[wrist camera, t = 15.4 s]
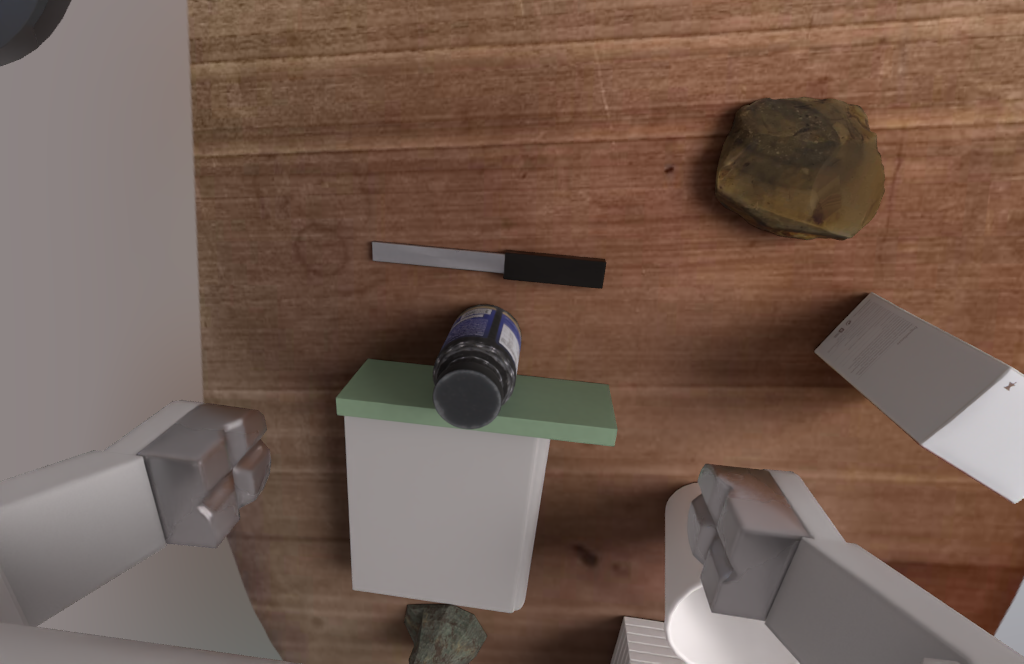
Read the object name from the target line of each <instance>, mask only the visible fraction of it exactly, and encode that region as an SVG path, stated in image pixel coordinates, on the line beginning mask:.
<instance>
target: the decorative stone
mask: <svg viewBox="0 0 1024 664" xmlns="http://www.w3.org/2000/svg"><path fill="white" fill-rule="evenodd" d="M877 149H878V148H877V135H876V133H873V132H871V131H870V128H869V125H868V119H867V116H866V114H865V112H864V111H863V109H862V108H861V107H860V106H858V105H851V104H847V103H845V102H843V101H840V100H836V99H824V100H820V99H813V98H808V97H801V98H790V99H777V100H773V99H770V98H764V99H761V100H758V101H755V102H754V103H752V104H751V105H746V106H744V107H742V108H740V109H739V110H738V111H737V112H736V115H735V118H734V121H733V126H732V129H731V131H730V133H729V134H728V136H727V138H726V140H725V143H724V145H723V148H722V152H721V155H720V159H719V163H718V168H717V174H716V185H715V196H716V198H717V199H718V200H719V201H720V203H721V204H722V205H723V206H724V207H725V208H727V209H729V210H732V211H734V212H736V213H737V214H739V215H740V216H742V217H743V218H744V219H745V220H746V221H747V222H748V223H749V224H751V225H753V226H755V227H757V228H759V229H763V230H766V231H771V232H773V233H775V234H777V235H779V236H783V237H789V238H797V239H804V240H811V239H815V238H825V239H826V238H832V239H836V240H845V239H847V238H852V237H853V236H854V235H855V234H857V232H858V231H859V230H861V229H862V228H863V227H864V226H865V225H866V224H867V223H869V222H870V221H871V220H872V218H873V217H874V216H875V214H876V212H877V210H878V208H879V206H880V202H881V199H882V197H883V194H884V192H885V190H884V181H885V175H884V167H883V164H882V163H881V155H880V153H879V152H878V151H877Z"/></svg>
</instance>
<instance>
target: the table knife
mask: <svg viewBox="0 0 1024 664" xmlns="http://www.w3.org/2000/svg"><path fill="white" fill-rule="evenodd" d="M372 252H373V261H382V262H392V263H402V264H413V265H423V266H433V267H444V268H454V269H464V270H475V271H485V272H495V273H504V276H503V279H509V280H519V281H529V282H540V283H550V284H560V285H570V286H581V287H591V288H601V289H602V287H603V280H604V274H605V267H606V261H605V259H599V258H588V257H577V256H567V255H556V254H546V253H535V252H524V251H514V250H506V252H505V253H497V252H486V251H476V250H465V249H455V248H444V247H433V246H423V245H412V244H402V243H391V242H381V241H373V242H372Z"/></svg>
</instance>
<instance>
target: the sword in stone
mask: <svg viewBox="0 0 1024 664" xmlns="http://www.w3.org/2000/svg"><path fill="white" fill-rule="evenodd" d="M404 623H405V625H406V627H407V629H408V632H409V634H410V636H411V638H412V640H413V642H414V648H413V650H412V653H411V655H410V657H409V664H468V663H469V662H470V661H471V660H472V659H473V658H474V657H475V656H476V655H477V653H478V652H479V650H480V648H481V646H482V645H483V643H484V641H485V639H486V637H487V635H486V633H485V632H484V630H483V629H482V627H481V625H480V624H479V622H478V620H477V619H476V617H475V616H474V615H473V614H471V613H469V612H467V611H465V610H462V609H460V608H458V607H456V606H454V605H452V604H420V605H408V606H407V611H406V616H405V621H404Z"/></svg>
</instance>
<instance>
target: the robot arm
mask: <svg viewBox="0 0 1024 664" xmlns="http://www.w3.org/2000/svg"><path fill="white" fill-rule="evenodd" d="M266 431H267V428H266V423H265V418H264V415H263V414H262V413H261V412H259V411H258V410H253V409H246V408H239V407H231V406H224V405H217V404H210V403H202V402H194V401H185V400H179V401H172V402H171V403H169V404H168V405H167V406H165V407H164V408H162V409H161V410H160V411H158V412H157V413H155V414H154V415H153V416H151V417H150V418H149V419H147V420H146V421H145V422H143V423H142V424H140V425H139V426H137V427H136V428H135V429H133V430H132V431H131V432H129V433H128V434H126V435H125V436H123V437H122V438H121V439H119V440H118V441H116V442H115V443H114V444H112V445H111V446H110V447H108V448H107V449H105V450H104V451H95V450H93V451H90V452H87V453H84V454H81V455H78V456H75V457H72V458H69V459H66V460H63V461H60V462H57V463H54V464H51V465H48V466H45V467H42V468H39V469H36V470H33V471H30V472H27V473H24V474H21V475H18V476H15V477H12V478H9V479H6V480H2V481H0V664H301V663H294V662H287V661H280V660H273V659H265V658H258V657H251V656H244V655H236V654H229V653H222V652H215V651H207V650H200V649H193V648H186V647H179V646H170V645H164V644H156V643H149V642H142V641H135V640H128V639H121V638H114V637H106V636H99V635H91V634H84V633H77V632H70V631H63V630H55V629H48V628H41V627H36V626H38V625H39V624H41V623H43V622H44V621H46V620H47V619H49V618H51V617H52V616H54V615H56V614H57V613H59V612H61V611H62V610H64V609H65V608H67V607H69V606H70V605H72V604H74V603H75V602H77V601H78V600H80V599H82V598H83V597H85V596H87V595H88V594H90V593H91V592H93V591H95V590H96V589H98V588H100V587H101V586H102V585H104V584H106V583H108V582H109V581H111V580H112V579H114V578H116V577H117V576H119V575H121V574H122V573H124V572H125V571H127V570H129V569H130V568H132V567H134V566H135V565H137V564H138V563H140V562H142V561H143V560H145V559H147V558H148V557H150V556H151V555H153V554H155V553H156V552H158V551H160V550H161V549H163V548H164V547H166V546H167V544H178V545H188V546H198V547H208V548H217V547H218V546H219V544H220V543H221V542H222V541H223V539H224V538H225V537H226V536H227V535H228V533H229V532H230V531H231V530H232V528H233V527H234V526H235V525H236V523H237V522H238V521H239V520H240V512H239V508H241V507H243V506H245V505H247V504H249V503H251V502H252V501H254V500H255V499H256V498H257V497H258V495H259V494H260V493H261V491H262V490H263V489H264V487H265V484H266V482H267V479H268V476H269V474H270V466H271V456H270V450H269V448H268V447H267V446H266V445H265V444H264V443H263V441H262V440H261V437H262V436H263V435H264V433H265V432H266ZM697 482H698V484H699V487H700V489H701V492H702V493H701V494H700V495H699V496H697V497H696V498H695V499H694V500H692V501H691V505H690V509H689V513H688V524H687V533H688V540H689V545H690V548H691V551H692V554H693V556H694V557H695V558H696V559H697V560H698V561H699V562H700V563H701V564H702V565H704V566H703V569H702V572H701V575H700V579H701V582H702V585H703V588H704V591H705V594H706V597H707V600H708V603H709V606H710V609H711V612H712V613H717V614H723V615H729V616H736V617H742V618H748V619H755V620H761V621H765V623H764V624H765V625H766V626H767V627H768V628H769V629H770V631H771V632H772V633H773V634H774V635H775V636H776V637H777V638H778V640H779V641H780V642H781V643H782V644H783V645H784V646H785V647H786V648H787V650H788V651H789V652H790V653H791V654H792V655H793V656H794V657H795V659H796V660H797V661H798V662H799V663H800V664H1024V657H1023V656H1022V655H1020V654H1019V653H1017V652H1016V651H1014V650H1013V649H1011V648H1010V647H1008V646H1007V645H1006V644H1004V643H1002V642H1001V641H1000V640H998V639H997V638H995V637H994V636H992V635H991V634H989V633H988V632H986V631H985V630H983V629H982V628H980V627H979V626H977V625H976V624H974V623H973V622H971V621H970V620H968V619H967V618H965V617H964V616H962V615H961V614H959V613H958V612H956V611H955V610H954V609H952V608H951V607H949V606H948V605H946V604H945V603H943V602H942V601H940V600H939V599H937V598H936V597H934V596H933V595H931V594H930V593H928V592H927V591H925V590H924V589H922V588H921V587H919V586H918V585H916V584H915V583H913V582H912V581H910V580H909V579H907V578H906V577H904V576H903V575H902V574H900V573H899V572H897V571H896V570H894V569H893V568H891V567H890V566H888V565H887V564H885V563H884V562H882V561H881V560H879V559H878V558H876V557H875V556H873V555H872V554H870V553H869V552H867V551H866V550H864V549H863V548H861V547H860V546H858V545H857V544H853V543H846V542H845V540H844V539H843V537H842V536H841V534H840V533H839V532H838V530H837V529H836V527H835V526H834V525H833V523H832V522H831V520H830V519H829V518H828V516H827V515H826V513H825V512H824V510H823V509H822V508H821V506H820V505H819V503H818V502H817V501H816V499H815V498H814V496H813V495H812V493H811V492H810V491H809V489H808V488H807V486H806V485H805V484H804V482H803V481H802V479H801V478H800V477H799V476H798V475H797V474H795V473H794V472H791V471H779V470H768V469H763V470H759V469H750V468H741V467H732V466H723V465H714V464H705V465H704V467H703V468H702V470H701V472H700V475H699V478H698V481H697ZM166 543H167V544H166Z"/></svg>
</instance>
